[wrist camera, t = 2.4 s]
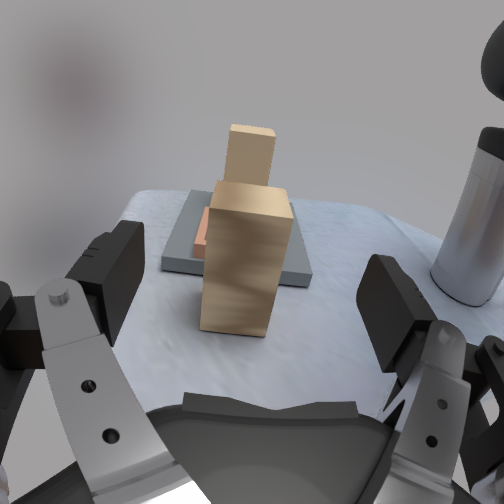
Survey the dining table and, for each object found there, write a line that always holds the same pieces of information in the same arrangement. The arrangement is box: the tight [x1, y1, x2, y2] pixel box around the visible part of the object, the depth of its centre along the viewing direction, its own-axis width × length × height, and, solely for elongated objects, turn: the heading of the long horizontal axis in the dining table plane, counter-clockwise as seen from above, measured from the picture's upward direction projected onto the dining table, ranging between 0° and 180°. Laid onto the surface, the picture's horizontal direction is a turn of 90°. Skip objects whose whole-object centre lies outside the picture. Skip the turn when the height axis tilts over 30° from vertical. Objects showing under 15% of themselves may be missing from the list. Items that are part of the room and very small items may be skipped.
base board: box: [162, 124, 313, 287], centre depth 34 cm, size 14×17×12 cm
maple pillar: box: [200, 180, 294, 337], centre depth 23 cm, size 5×5×10 cm
